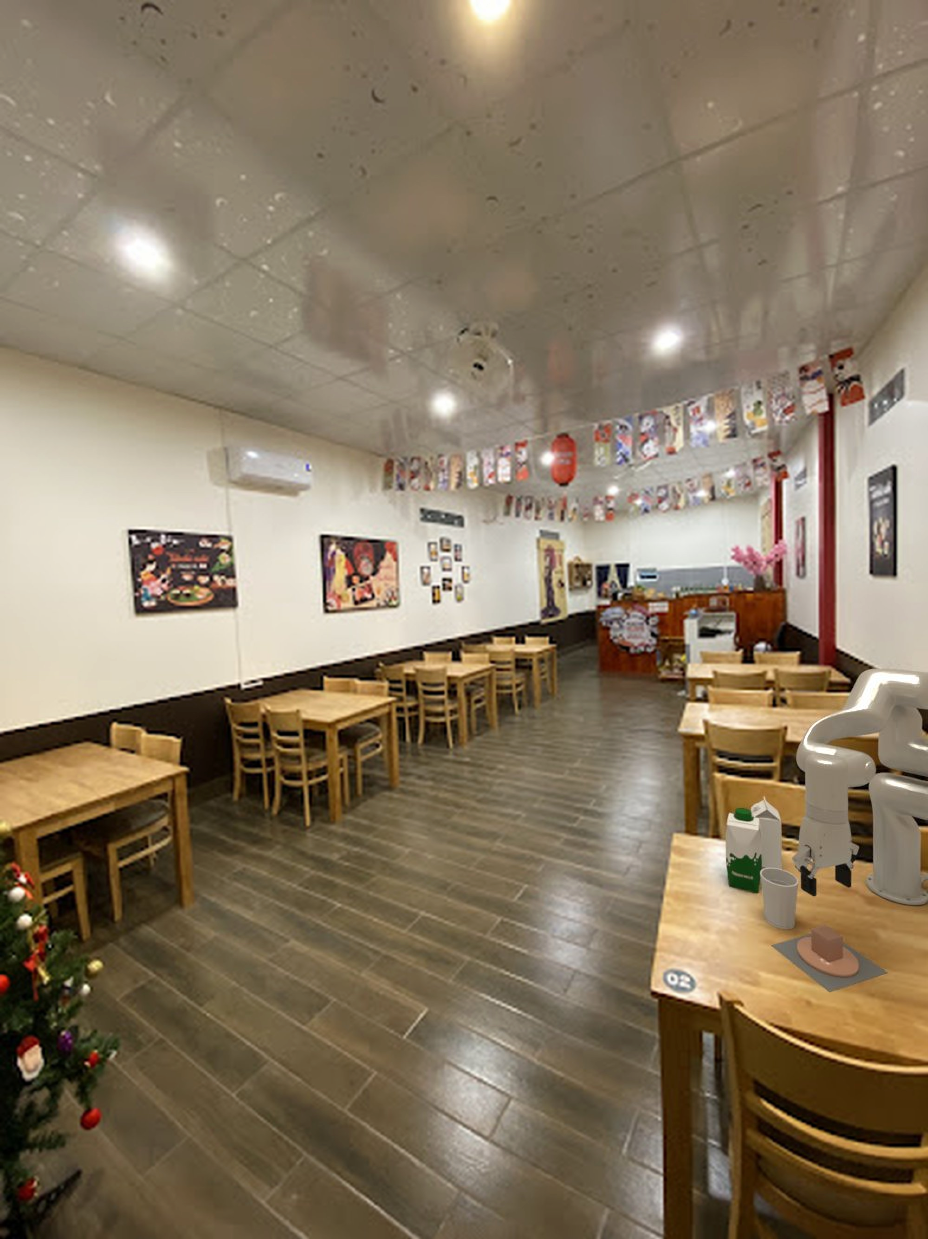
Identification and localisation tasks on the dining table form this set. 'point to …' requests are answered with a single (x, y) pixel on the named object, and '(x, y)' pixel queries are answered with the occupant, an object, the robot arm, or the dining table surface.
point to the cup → (779, 897)
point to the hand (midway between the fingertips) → (826, 888)
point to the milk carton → (769, 834)
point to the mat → (828, 982)
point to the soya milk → (743, 850)
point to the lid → (827, 953)
